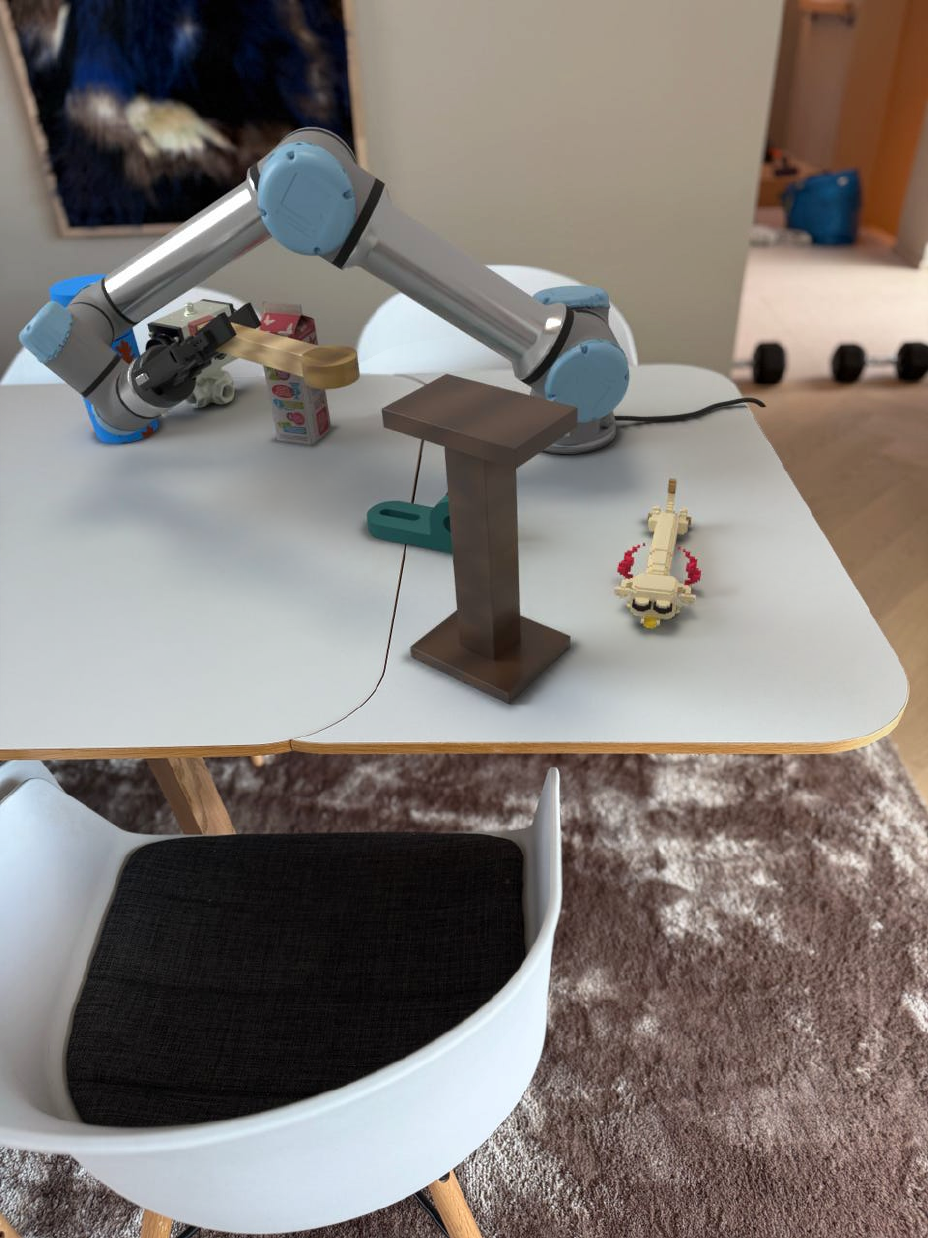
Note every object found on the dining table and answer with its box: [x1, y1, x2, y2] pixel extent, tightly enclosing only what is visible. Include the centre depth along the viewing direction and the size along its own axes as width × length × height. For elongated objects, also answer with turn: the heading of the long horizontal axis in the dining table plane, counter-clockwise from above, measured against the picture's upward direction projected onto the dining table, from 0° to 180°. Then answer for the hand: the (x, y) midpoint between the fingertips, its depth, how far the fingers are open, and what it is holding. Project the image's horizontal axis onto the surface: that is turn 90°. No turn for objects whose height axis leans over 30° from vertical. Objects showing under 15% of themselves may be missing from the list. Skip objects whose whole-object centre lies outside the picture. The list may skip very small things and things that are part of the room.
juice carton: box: [256, 301, 332, 446], centre depth 147 cm, size 7×7×22 cm
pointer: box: [187, 315, 361, 390], centre depth 102 cm, size 25×6×3 cm, turn 51°
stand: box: [380, 373, 578, 705], centre depth 96 cm, size 16×12×30 cm
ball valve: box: [144, 298, 239, 409], centre depth 162 cm, size 18×8×18 cm, turn 149°
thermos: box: [48, 274, 159, 445], centre depth 152 cm, size 11×11×25 cm
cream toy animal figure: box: [614, 477, 702, 629], centre depth 112 cm, size 10×9×25 cm
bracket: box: [366, 491, 453, 555], centre depth 124 cm, size 18×7×8 cm, turn 65°
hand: (240, 319), depth 103 cm, fingers closed on pointer, 3 cm apart
